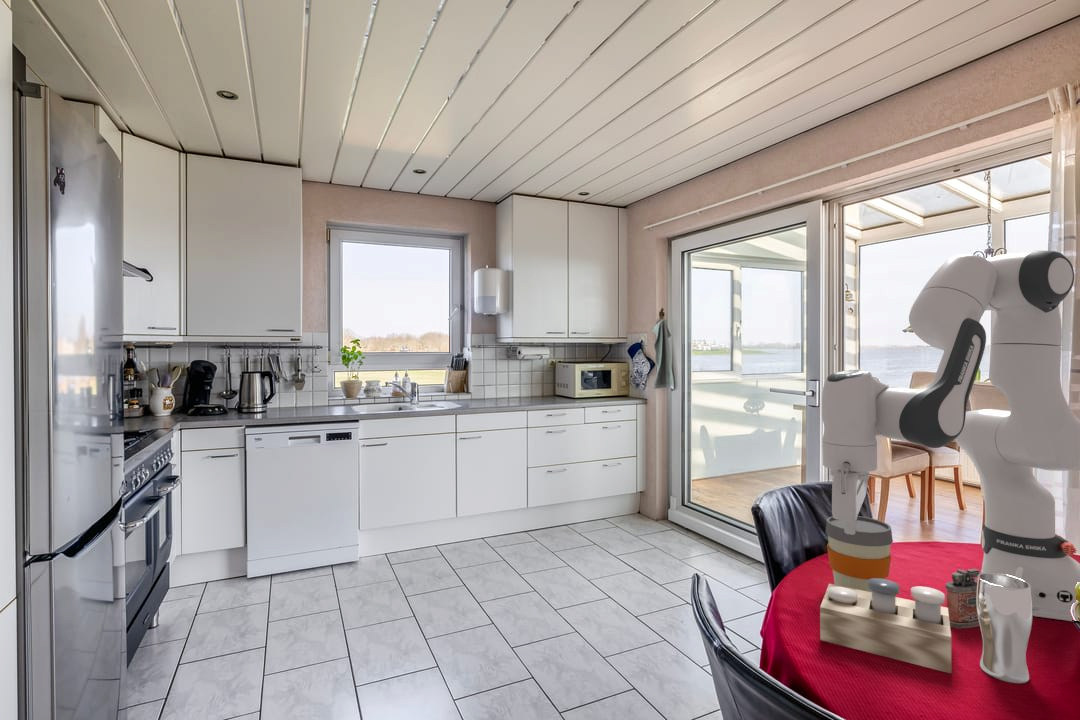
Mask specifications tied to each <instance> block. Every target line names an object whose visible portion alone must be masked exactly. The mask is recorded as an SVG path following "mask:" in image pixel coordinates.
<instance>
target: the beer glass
mask: <svg viewBox="0 0 1080 720" xmlns="http://www.w3.org/2000/svg"><path fill="white" fill-rule="evenodd" d="M977 580H978V581H977V591H976V608H977V615H978V620H979V629H980V632H981V634H980V635H981V639H982V651H981V652H982V653H981V656H980V661H979V667H980V669H981V670H982V671H983V672H984V673H985V674H987V675H989V676H990V677H993V678H995V679H996V680H997V679H998V680H999V681H1003V682H1006V683H1011V684H1026V683H1027V682H1029V680H1030V674H1029V669H1028V665H1027V664H1028V663H1027V656H1026V655H1027V648H1028V643H1029V640H1030V635H1031V631H1032V625H1033V617H1034V616H1033V607H1032V596H1031V585H1030V584H1029V583H1028V582H1026V581H1024V580H1022V579H1020V578H1017V577H1014V576H1010V575H1006V574H1001V573H992V572H985V573H981V572H980V574H978V577H977Z"/></svg>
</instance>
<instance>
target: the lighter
mask: <svg viewBox="0 0 1080 720" xmlns="http://www.w3.org/2000/svg"><path fill="white" fill-rule="evenodd" d="M980 573H981V570H979V569H978V568H970V569H966V570H964V569H961V568H959V569H957V570H956V571H955V572H952V573H951V579H952V581H949V582H946V583H945V585H944V586H945V589H946V607H947V608H948V613H949V622H950V627H951V628H955V629H968V628H974V627H980V625H979V620H978V615H977V608H976V591H977V581H978V579H977V578H978V574H980ZM975 578H976V579H975Z"/></svg>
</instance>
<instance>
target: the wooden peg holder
mask: <svg viewBox="0 0 1080 720" xmlns="http://www.w3.org/2000/svg"><path fill="white" fill-rule="evenodd" d="M830 587H843V586H838V585H835V584H833V583H828V586H827V588H826V590H825V592H824V593H825V594H824V596H823V599H822V602H821V604H820V606H819V621H820V622H819V627H820V628H819V631H820V633H819V634H820V635H819V636H820V637H819V638H820V639H819V640H820V641H822V642H827V643H830V644H834V645H838V646H843V647H846V648H850V649H853V650H859V651H862V652H866V653H870V654H873V655H876V656H881V657H885V658H890V659H893V660H896V661H901V662H905V663H909V664H913V665H917V666H921V667H923V668H929V669H932V670H935V671H940V672H944V673H947V674H952V631H951V626H950V622H949V613H948V608H947V606H946V607H945V606H942V605H941V625H940V624H935V623H931V622H926V621H921V620H917V619H915V600H911V599H907V598H902V597H897V596H895V600H896V615H894V614H889V613H885V612H880V611H876V610H872V592H868V591H863V590H858V589H853V588H848V587H845V588H848V589H851V590H853V591H855V592H856V593H857V602H855V603H854V606H853V605H848V604H843V603H839V602H834V601H832V599H831V598H830V597H829V596H828V589H829V588H830Z"/></svg>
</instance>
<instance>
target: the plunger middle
mask: <svg viewBox="0 0 1080 720" xmlns="http://www.w3.org/2000/svg"><path fill="white" fill-rule="evenodd" d="M868 588H869V589H870V590H872V610H876V611H880V612H885V613H889V614H894V615H896V600H895V597H896V595H898V594H900V585H899V584H898V583H897V582H895V581H893V580H889V579H887V578H886V579H881V578H872V579H869V580H868Z"/></svg>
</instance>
